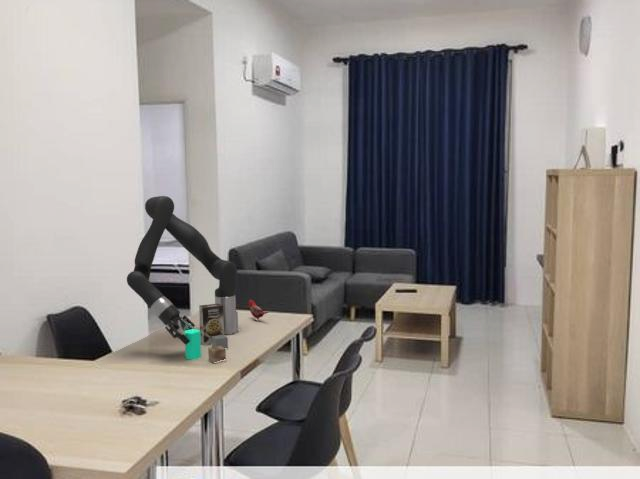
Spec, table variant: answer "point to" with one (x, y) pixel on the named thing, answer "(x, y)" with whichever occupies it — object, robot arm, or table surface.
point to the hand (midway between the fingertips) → (192, 340)
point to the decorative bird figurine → (255, 310)
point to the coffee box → (211, 322)
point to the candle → (193, 344)
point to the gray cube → (219, 341)
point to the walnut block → (216, 353)
